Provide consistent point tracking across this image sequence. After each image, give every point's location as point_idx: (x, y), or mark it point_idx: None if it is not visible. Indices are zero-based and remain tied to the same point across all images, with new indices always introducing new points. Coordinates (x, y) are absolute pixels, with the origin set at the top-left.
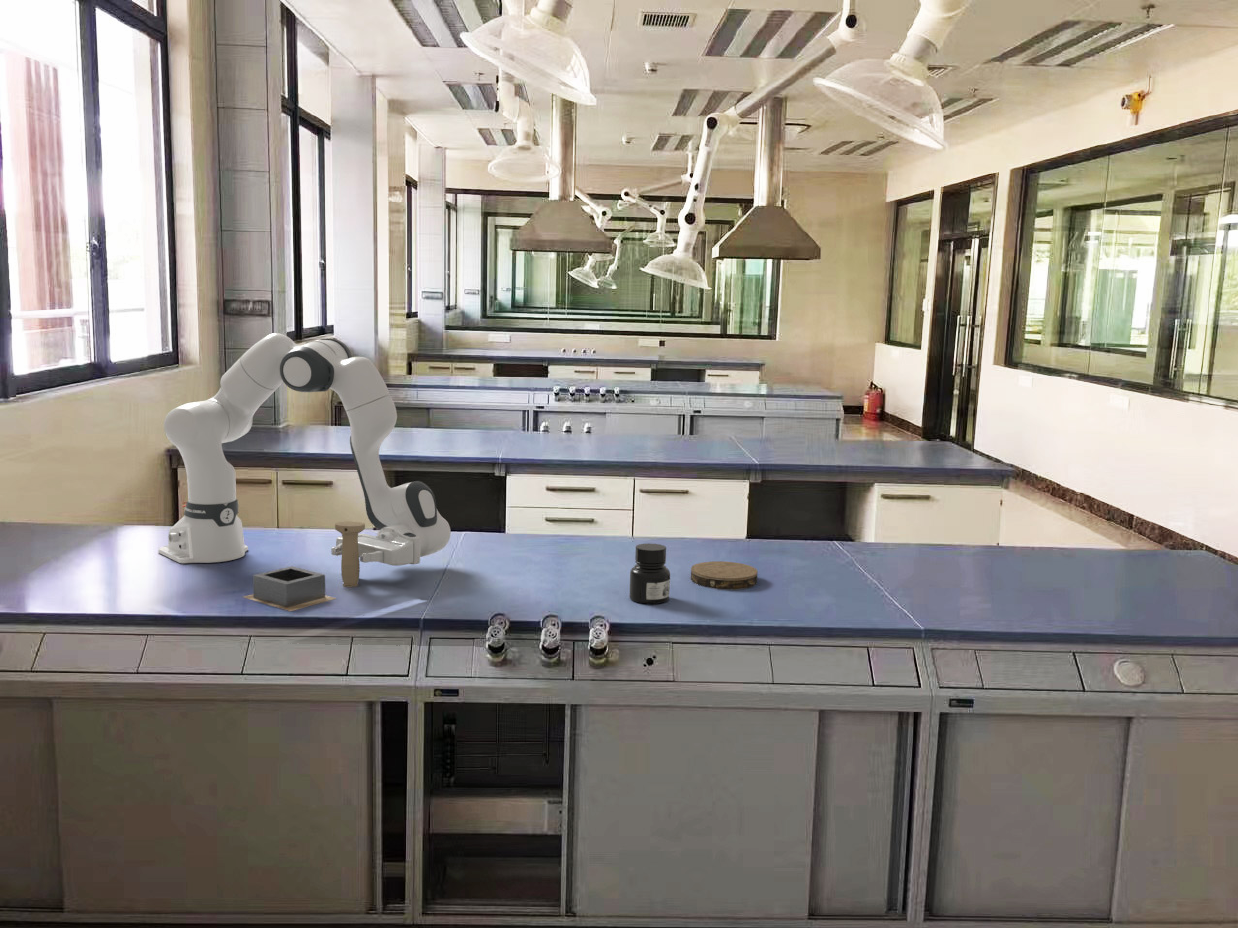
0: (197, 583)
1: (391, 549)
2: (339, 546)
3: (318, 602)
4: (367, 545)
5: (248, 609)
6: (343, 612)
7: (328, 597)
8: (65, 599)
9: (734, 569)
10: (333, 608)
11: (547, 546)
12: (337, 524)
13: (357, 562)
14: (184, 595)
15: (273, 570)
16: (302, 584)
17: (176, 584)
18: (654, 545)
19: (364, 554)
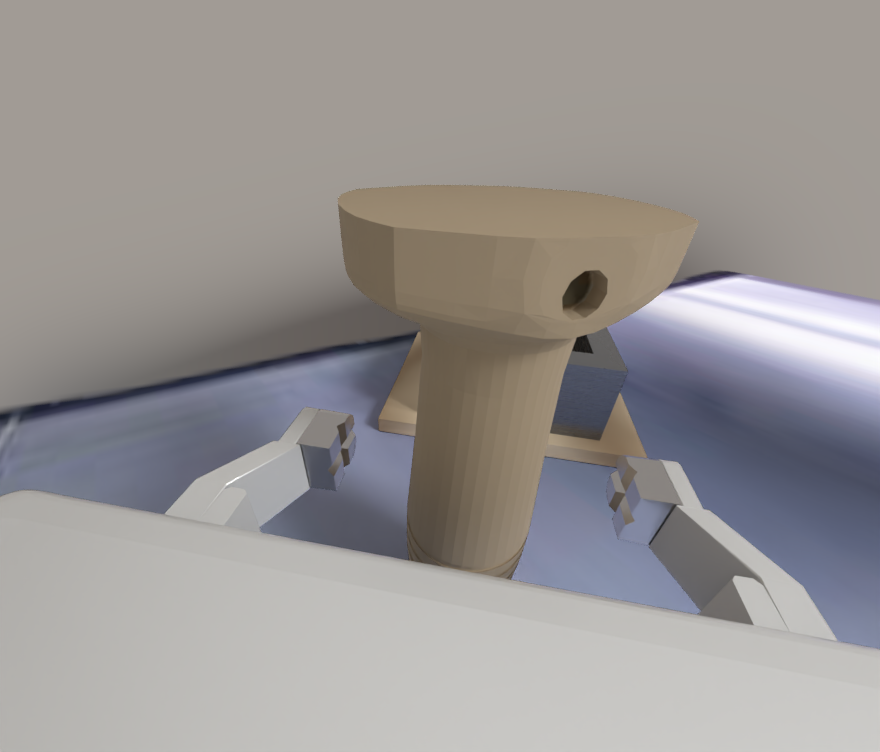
0: (872, 414)
1: (24, 503)
2: (677, 506)
3: (403, 380)
4: (405, 562)
5: None
6: (309, 385)
7: (410, 416)
8: (798, 303)
9: None
10: (356, 397)
11: None
12: (582, 195)
13: (408, 499)
14: (734, 355)
15: (608, 331)
16: None
17: (875, 392)
18: None
19: (316, 415)
